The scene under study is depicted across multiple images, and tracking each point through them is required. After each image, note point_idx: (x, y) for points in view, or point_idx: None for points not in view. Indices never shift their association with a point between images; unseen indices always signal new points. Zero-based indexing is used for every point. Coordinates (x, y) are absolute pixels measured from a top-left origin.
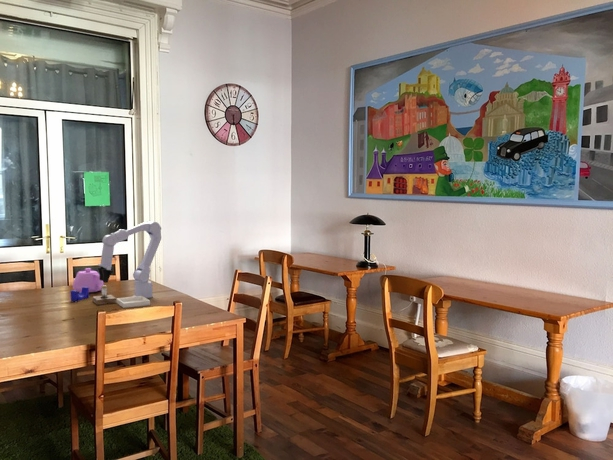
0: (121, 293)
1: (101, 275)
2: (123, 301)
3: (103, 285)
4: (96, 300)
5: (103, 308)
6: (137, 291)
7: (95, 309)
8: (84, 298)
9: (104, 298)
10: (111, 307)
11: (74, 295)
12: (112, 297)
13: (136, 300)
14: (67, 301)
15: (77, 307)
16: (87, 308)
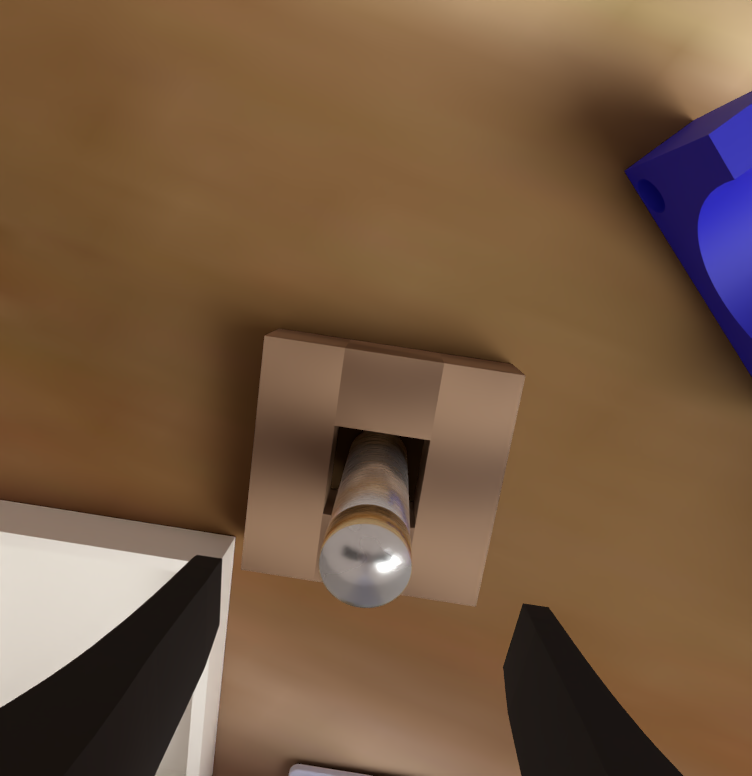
0: (692, 773)
1: (556, 729)
2: None
3: (392, 566)
4: (290, 338)
5: (38, 312)
6: None
7: (32, 214)
8: (727, 334)
9: (302, 452)
10: (43, 404)
11: (690, 137)
12: (304, 552)
13: (187, 724)
14: (728, 77)
15: (264, 62)
16: (136, 152)
